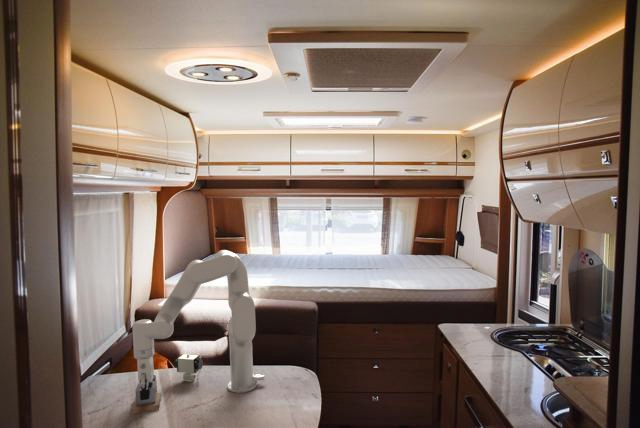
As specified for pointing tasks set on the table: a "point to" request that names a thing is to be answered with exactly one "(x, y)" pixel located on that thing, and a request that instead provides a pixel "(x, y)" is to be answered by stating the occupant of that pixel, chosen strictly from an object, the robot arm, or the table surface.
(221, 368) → the table surface
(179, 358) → the pneumatic valve
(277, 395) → the table surface
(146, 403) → the hollow grey cube
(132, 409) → the mallet
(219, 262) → the robot arm
